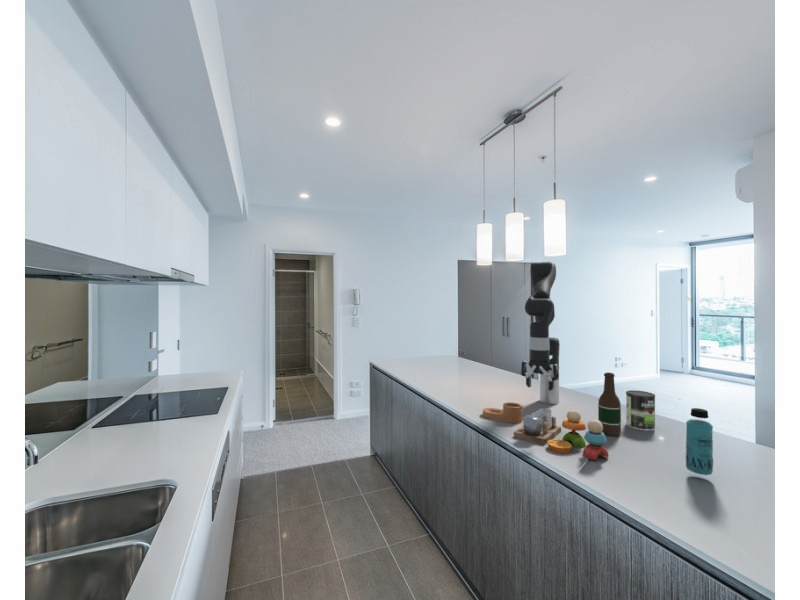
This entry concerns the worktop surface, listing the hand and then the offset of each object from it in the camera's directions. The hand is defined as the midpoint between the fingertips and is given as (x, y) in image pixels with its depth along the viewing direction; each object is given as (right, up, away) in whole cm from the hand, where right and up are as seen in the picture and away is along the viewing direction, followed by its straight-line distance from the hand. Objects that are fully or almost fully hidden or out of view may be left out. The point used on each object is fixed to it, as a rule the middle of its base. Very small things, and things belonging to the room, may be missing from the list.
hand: (539, 388), depth 146 cm
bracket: (-10, -18, +19) cm, 28 cm away
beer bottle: (+28, -18, -1) cm, 33 cm away
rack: (-1, -18, -2) cm, 18 cm away
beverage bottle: (+35, -18, -36) cm, 53 cm away
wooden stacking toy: (+7, -18, -17) cm, 26 cm away
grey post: (-1, -16, -2) cm, 16 cm away
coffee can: (+45, -18, +7) cm, 49 cm away
